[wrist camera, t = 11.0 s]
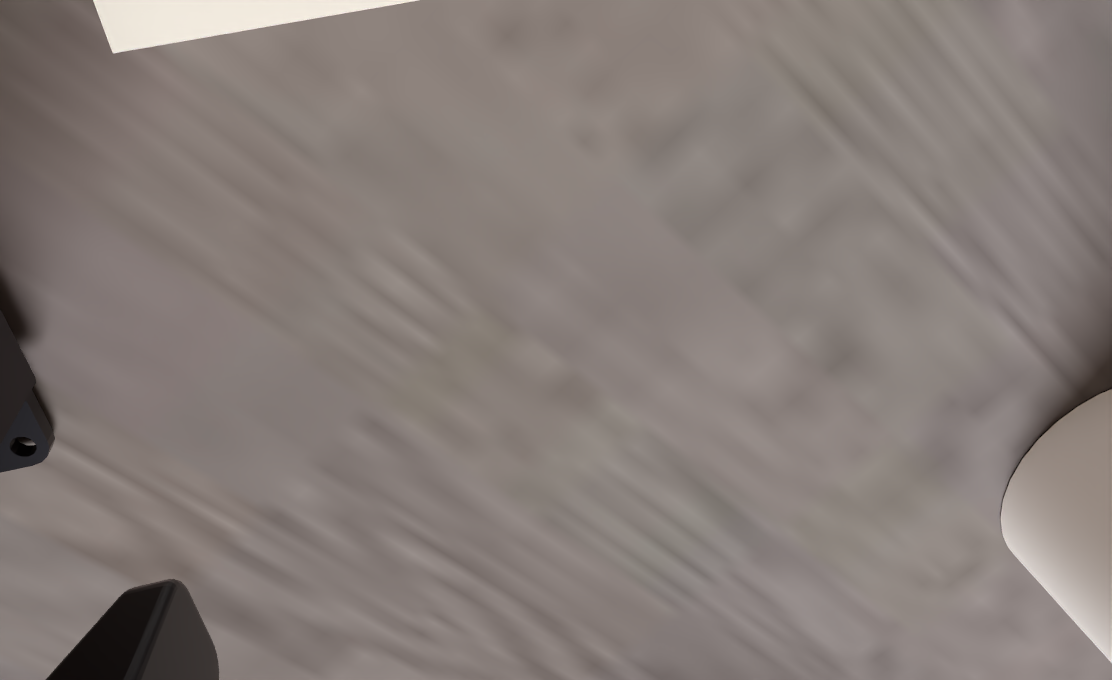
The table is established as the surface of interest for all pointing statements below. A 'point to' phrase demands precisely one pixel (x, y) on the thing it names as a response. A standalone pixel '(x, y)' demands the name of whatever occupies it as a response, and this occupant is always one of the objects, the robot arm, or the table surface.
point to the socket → (208, 17)
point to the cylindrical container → (1068, 516)
